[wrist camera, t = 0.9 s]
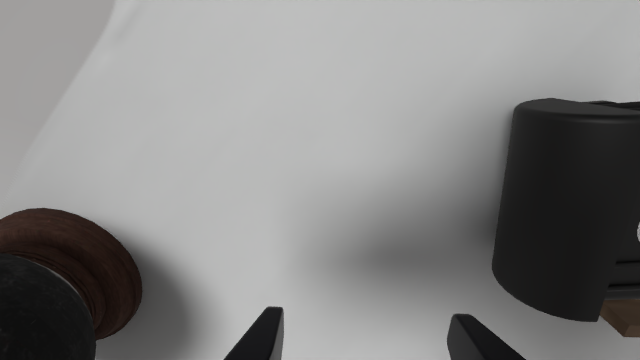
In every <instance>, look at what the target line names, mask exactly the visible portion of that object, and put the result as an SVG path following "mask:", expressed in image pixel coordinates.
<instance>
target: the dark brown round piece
mask: <svg viewBox="0 0 640 360" xmlns="http://www.w3.org/2000/svg"><path fill="white" fill-rule="evenodd" d="M141 297H142V281H141V277H140V274H139V271H138V268H137V266H136V264H135V262H134V261H133V259H132V257H131V255H130V254H129V253H128V251H127V250H126V249H125V248H124V247H123V245H122V244H121V243H120V242H119V241H118V240H117V239H116V238H114V237H113V236H112V235H111V234H110V233H109V232H107V231H106V230H104V229H103V228H101V227H100V226H98V225H97V224H95V223H94V222H91V221H89V220H87V219H85V218H83V217H81V216H79V215H76V214H72V213H69V212H65V211H62V210H55V209H48V208H36V209H26V210H22V211H18V212H15V213H13V214H11V215H8V216H6V217H4V218H2V219H0V360H95V352H96V340H99V339H103V338H106V337H108V336H111V335H113V334H115V333H116V332H118V331H119V330H121V329H122V328H123V327H124V326H125V325H126V324H127V323H128V322H129V320H130V319H131V318H132V317H133V315H134V314H135V313H136V311H137V309H138V307H139V305H140V303H141Z"/></svg>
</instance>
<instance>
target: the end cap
mask: <svg viewBox="0 0 640 360" xmlns="http://www.w3.org/2000/svg"><path fill="white" fill-rule="evenodd" d="M639 222H640V102H628V103H615V102H610V101H592V102H575V101H569V100H562V99H555V98H548V99H538V100H531V101H526V102H523V103H520V104H519V105H518V106H516V107H515V109H514V116H513V122H512V129H511V136H510V143H509V150H508V157H507V163H506V170H505V177H504V184H503V191H502V198H501V205H500V211H499V218H498V225H497V232H496V239H495V246H494V253H493V259H492V271H493V274H494V276H495V278H496V280H497V281H498V283H499V284H500V285H501V286H502V287H503V288H504V289H505V290H506V291H507V292H508V293H510V294H511V295H512V296H514V297H515V298H516V299H518V300H520V301H521V302H523V303H525V304H526V305H528V306H530V307H533V308H535V309H537V310H539V311H542V312H544V313H547V314H550V315H553V316H556V317H560V318H564V319H568V320H575V321H583V322H597V320H598V318H599V314H600V311H601V308H602V305H603V302H604V300H622V299H640V242H639V240H638V237H637V229H638V225H639Z"/></svg>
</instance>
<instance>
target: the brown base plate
mask: <svg viewBox="0 0 640 360" xmlns="http://www.w3.org/2000/svg"><path fill="white" fill-rule="evenodd" d="M599 315H600V316H601V317H603V318H604V319H605V320H606V321H607V322H608V323H609V324H610V325H611V326H612V327H613V328H614V329H616V330H617V331H618V332H619V333H620V334H621V335H622V336H623V337H640V299H622V300H604V302H603V305H602V308H601V311H600V314H599Z"/></svg>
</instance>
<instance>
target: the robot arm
mask: <svg viewBox="0 0 640 360" xmlns="http://www.w3.org/2000/svg"><path fill="white" fill-rule="evenodd" d="M283 338H284V312H283V308H282V307H267V308H266V309H265V310H264V311H263V312H262V314H261V315H260V316H259V317H258V318H257V320H256V321H255V322H254V323H253V325H252V326H251V327H250V328H249V329H248V331H247V332H246V333H245V334H244V335H243V337H242V338H241V339H240V340H239V342H238V343H237V344H236V345H235V346H234V348H233V349H232V350H231V351H230V352H229V354H228V355H227V356H226V357H225V359H224V360H281V356H282V348H283ZM447 345H448V350H449V353H450V357H451V360H526V359H525V358H523V357H522V356H521V355H520V354H518V353H517V352H516V351H515V350H513V349H512V348H511V347H510V346H509V345H507V344H506V343H505V342H504V341H502V340H501V339H500V338H499V337H498V336H496V335H495V334H494V333H493V332H491V331H490V330H489V329H488V328H487V327H485V326H484V325H483V324H482V323H480V322H479V321H478V320H477V319H476V318H474V317H473V316H472V315H469V314H454V315H453V316H452V319H451V323H450V328H449V332H448V336H447Z"/></svg>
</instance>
